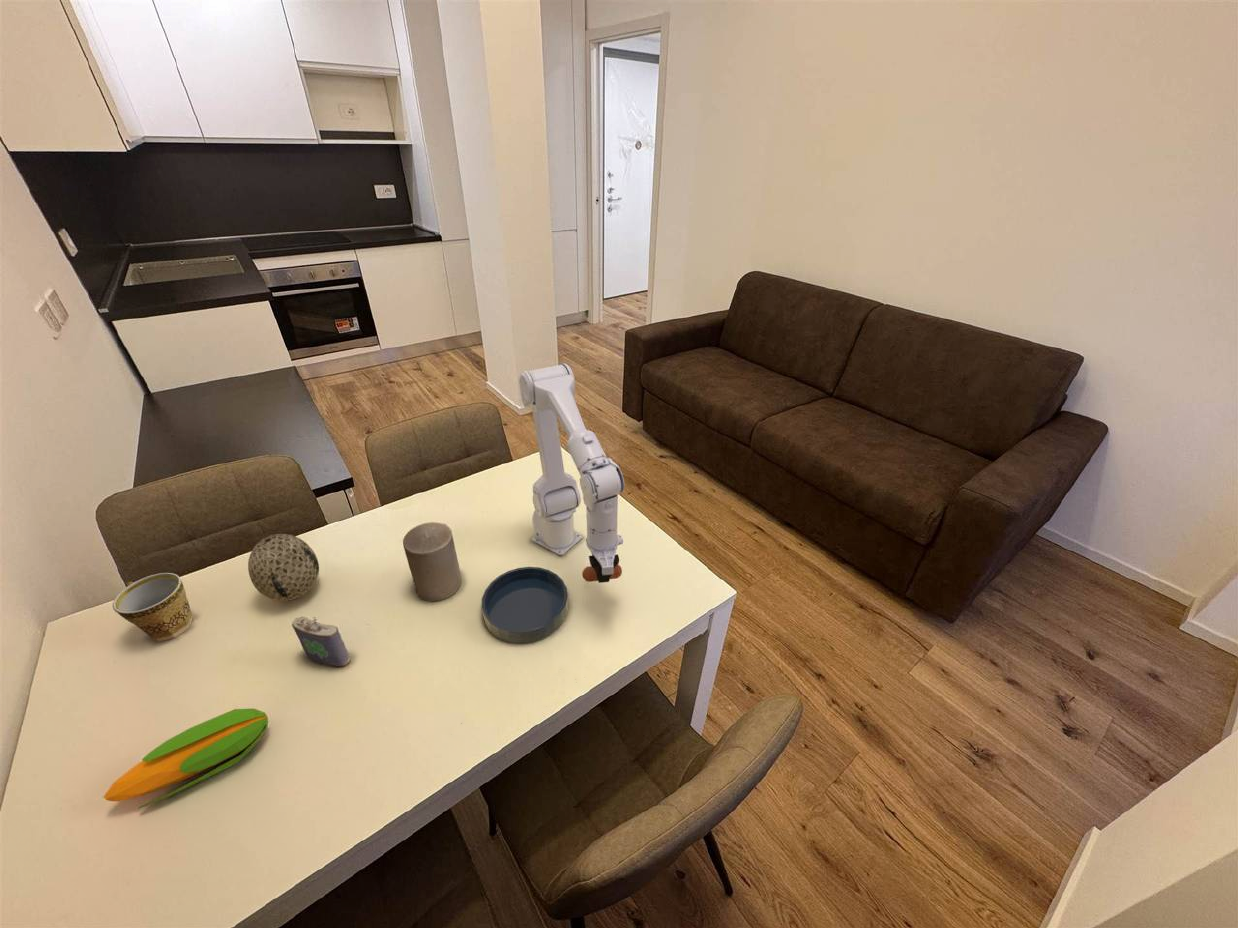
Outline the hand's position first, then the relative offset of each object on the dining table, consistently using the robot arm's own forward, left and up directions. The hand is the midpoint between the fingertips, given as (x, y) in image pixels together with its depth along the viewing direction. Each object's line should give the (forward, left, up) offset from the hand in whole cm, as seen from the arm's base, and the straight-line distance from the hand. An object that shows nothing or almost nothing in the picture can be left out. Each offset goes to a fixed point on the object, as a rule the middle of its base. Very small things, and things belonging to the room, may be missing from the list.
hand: (602, 574), depth 102 cm
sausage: (0, 0, +1) cm, 1 cm away
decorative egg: (-55, -35, -9) cm, 66 cm away
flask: (-34, -40, -9) cm, 53 cm away
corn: (-31, -62, -9) cm, 70 cm away
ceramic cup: (-67, -54, -9) cm, 87 cm away
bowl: (-12, -10, -8) cm, 18 cm away
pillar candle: (-32, -16, -9) cm, 37 cm away
